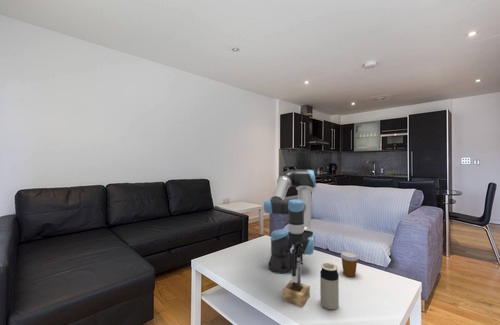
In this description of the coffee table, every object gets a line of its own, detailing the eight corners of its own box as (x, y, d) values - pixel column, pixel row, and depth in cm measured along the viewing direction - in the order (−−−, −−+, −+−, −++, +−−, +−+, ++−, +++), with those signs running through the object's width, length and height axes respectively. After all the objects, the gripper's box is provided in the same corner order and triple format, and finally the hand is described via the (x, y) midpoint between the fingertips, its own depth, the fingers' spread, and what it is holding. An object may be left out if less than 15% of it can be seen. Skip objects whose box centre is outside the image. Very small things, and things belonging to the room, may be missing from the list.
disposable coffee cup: (360, 279, 129) (360, 258, 129) (342, 277, 131) (342, 256, 131) (356, 271, 139) (355, 251, 139) (339, 270, 141) (339, 250, 140)
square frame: (282, 299, 111) (282, 289, 111) (290, 290, 119) (290, 280, 119) (302, 306, 105) (302, 296, 105) (309, 295, 114) (309, 285, 114)
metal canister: (290, 286, 112) (290, 258, 112) (294, 283, 115) (294, 255, 115) (299, 289, 109) (298, 259, 109) (302, 285, 113) (301, 256, 113)
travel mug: (323, 310, 103) (323, 270, 103) (318, 299, 111) (318, 262, 111) (341, 310, 103) (341, 270, 103) (334, 299, 111) (334, 262, 111)
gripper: (297, 238, 103) (297, 290, 103) (309, 228, 117) (309, 274, 117) (281, 235, 107) (282, 285, 107) (295, 226, 121) (295, 270, 121)
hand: (296, 279), depth 112 cm, fingers closed on metal canister, 4 cm apart
